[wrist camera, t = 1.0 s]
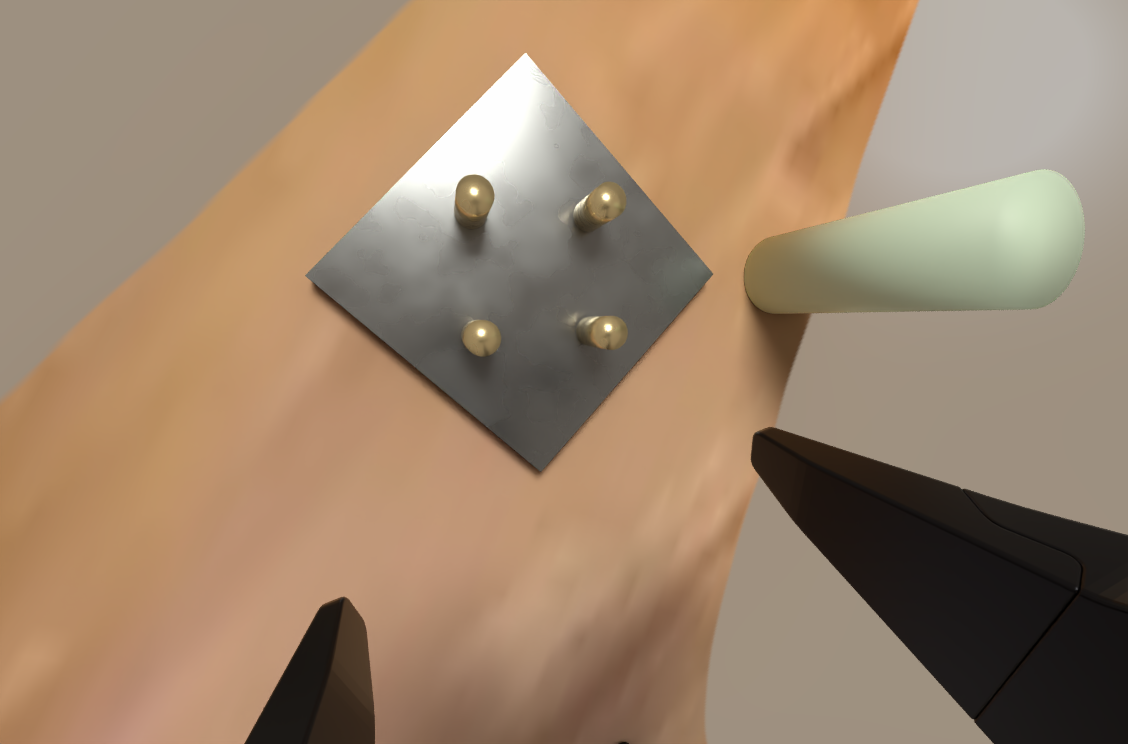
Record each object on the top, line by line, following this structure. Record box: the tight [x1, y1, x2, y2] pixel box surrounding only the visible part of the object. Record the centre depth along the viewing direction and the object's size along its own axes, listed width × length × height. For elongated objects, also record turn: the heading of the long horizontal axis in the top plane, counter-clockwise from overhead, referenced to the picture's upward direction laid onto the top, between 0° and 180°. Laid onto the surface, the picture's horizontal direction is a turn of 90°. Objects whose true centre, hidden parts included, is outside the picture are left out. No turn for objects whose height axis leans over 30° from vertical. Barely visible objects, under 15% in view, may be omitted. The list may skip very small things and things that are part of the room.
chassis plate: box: [305, 53, 713, 472], centre depth 20 cm, size 14×14×4 cm
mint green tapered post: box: [744, 169, 1085, 314], centre depth 20 cm, size 4×4×12 cm
